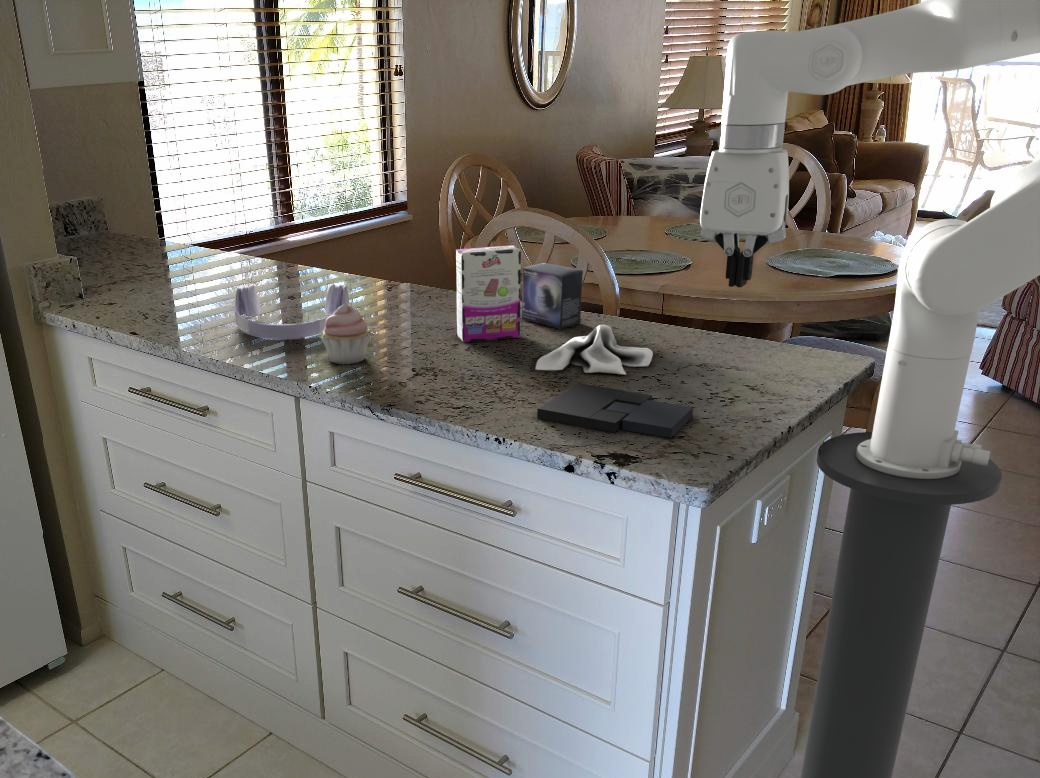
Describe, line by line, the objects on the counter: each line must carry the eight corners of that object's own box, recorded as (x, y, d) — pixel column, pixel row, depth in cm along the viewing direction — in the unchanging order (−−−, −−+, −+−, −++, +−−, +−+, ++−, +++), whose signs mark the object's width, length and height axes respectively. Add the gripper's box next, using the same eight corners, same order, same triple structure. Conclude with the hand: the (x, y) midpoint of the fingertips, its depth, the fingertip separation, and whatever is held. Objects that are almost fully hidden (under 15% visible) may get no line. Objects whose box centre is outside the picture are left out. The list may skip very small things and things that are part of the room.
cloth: (589, 337, 183) (591, 304, 181) (676, 357, 170) (679, 321, 168) (509, 363, 170) (509, 327, 167) (597, 386, 157) (599, 348, 154)
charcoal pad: (692, 416, 143) (693, 406, 142) (670, 438, 135) (671, 428, 135) (621, 405, 148) (622, 395, 148) (596, 425, 141) (597, 415, 140)
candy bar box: (512, 331, 188) (514, 244, 182) (520, 338, 184) (522, 249, 177) (455, 336, 186) (455, 248, 180) (461, 343, 182) (462, 252, 175)
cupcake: (335, 370, 168) (332, 312, 164) (311, 358, 175) (308, 302, 171) (383, 361, 172) (381, 304, 168) (358, 349, 179) (355, 294, 175)
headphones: (243, 313, 206) (224, 345, 188) (239, 279, 202) (220, 309, 185) (350, 312, 205) (341, 344, 187) (348, 278, 201) (339, 308, 184)
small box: (518, 319, 196) (520, 266, 192) (541, 314, 200) (543, 261, 196) (559, 329, 189) (561, 274, 185) (581, 323, 193) (584, 269, 188)
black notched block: (651, 404, 148) (652, 395, 148) (614, 433, 138) (615, 422, 137) (577, 391, 155) (578, 382, 154) (536, 418, 144) (537, 408, 143)
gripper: (682, 141, 125) (673, 286, 132) (807, 142, 117) (789, 295, 124) (701, 136, 131) (690, 275, 138) (820, 136, 123) (803, 284, 130)
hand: (737, 284), depth 131 cm, fingers closed
